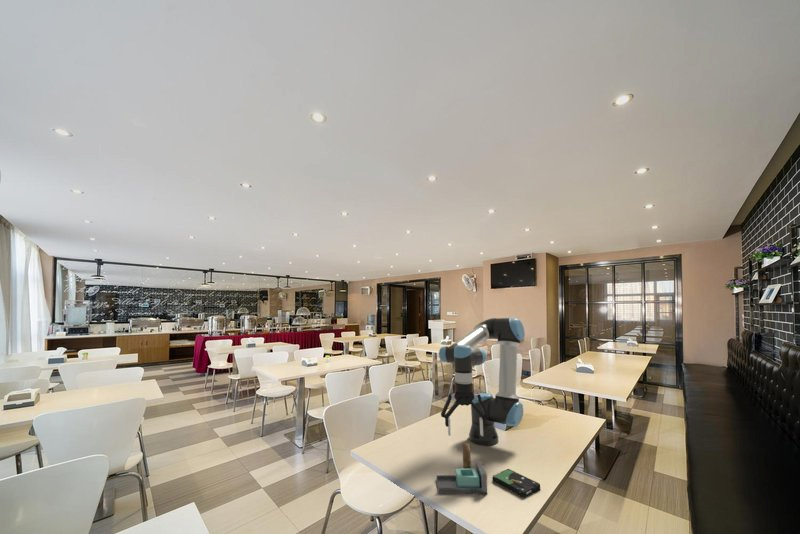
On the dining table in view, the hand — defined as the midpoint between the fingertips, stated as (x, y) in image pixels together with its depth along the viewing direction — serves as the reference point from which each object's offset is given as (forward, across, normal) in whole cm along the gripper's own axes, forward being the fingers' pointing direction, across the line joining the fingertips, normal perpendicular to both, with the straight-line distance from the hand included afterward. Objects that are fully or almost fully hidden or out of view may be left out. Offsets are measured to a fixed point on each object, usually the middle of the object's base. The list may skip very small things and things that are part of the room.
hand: (465, 434), depth 134 cm
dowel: (+16, 0, 0) cm, 16 cm away
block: (+15, +1, +9) cm, 17 cm away
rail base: (+16, +4, +9) cm, 19 cm away
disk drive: (+16, -18, +7) cm, 25 cm away
